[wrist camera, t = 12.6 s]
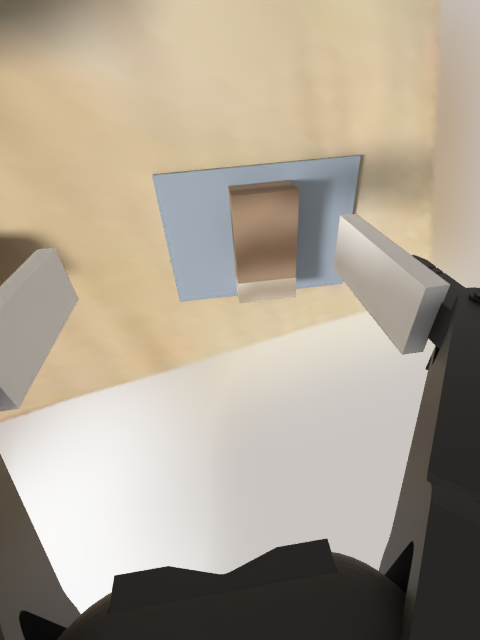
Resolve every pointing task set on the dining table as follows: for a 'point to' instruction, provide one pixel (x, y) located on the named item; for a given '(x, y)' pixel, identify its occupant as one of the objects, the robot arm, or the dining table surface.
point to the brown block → (264, 239)
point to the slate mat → (216, 230)
